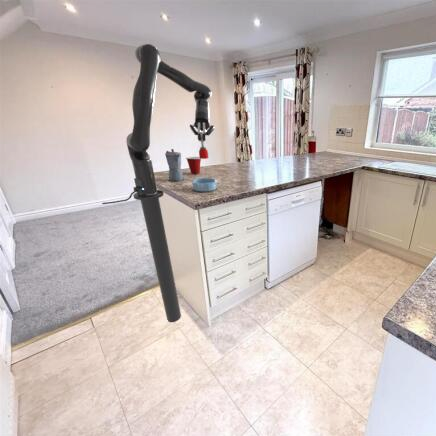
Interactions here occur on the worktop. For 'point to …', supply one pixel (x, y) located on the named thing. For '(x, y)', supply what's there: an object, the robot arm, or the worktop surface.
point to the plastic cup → (194, 164)
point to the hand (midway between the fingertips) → (201, 140)
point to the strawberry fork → (203, 149)
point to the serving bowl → (204, 184)
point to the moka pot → (174, 165)
